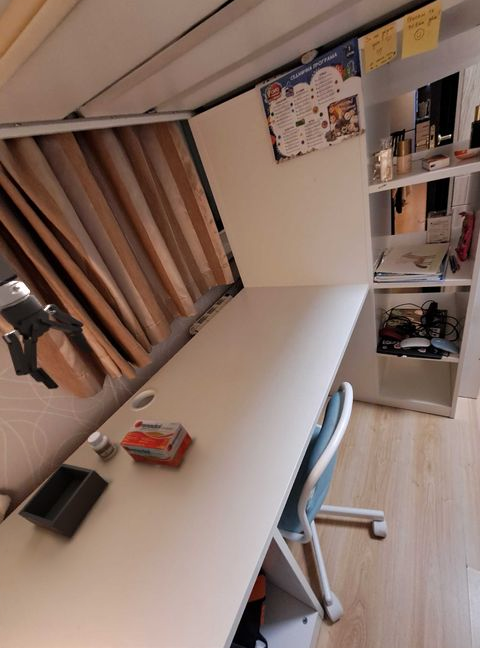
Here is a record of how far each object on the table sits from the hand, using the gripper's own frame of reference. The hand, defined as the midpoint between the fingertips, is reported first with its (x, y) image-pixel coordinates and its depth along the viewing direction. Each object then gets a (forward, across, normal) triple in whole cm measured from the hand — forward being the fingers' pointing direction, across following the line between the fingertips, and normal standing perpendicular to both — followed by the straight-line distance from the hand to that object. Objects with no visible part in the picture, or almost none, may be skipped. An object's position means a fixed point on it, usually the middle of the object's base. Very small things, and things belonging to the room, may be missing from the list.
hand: (72, 369), depth 77 cm
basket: (+25, -23, -1) cm, 34 cm away
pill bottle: (+25, -9, -2) cm, 27 cm away
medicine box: (+25, -8, -20) cm, 33 cm away
